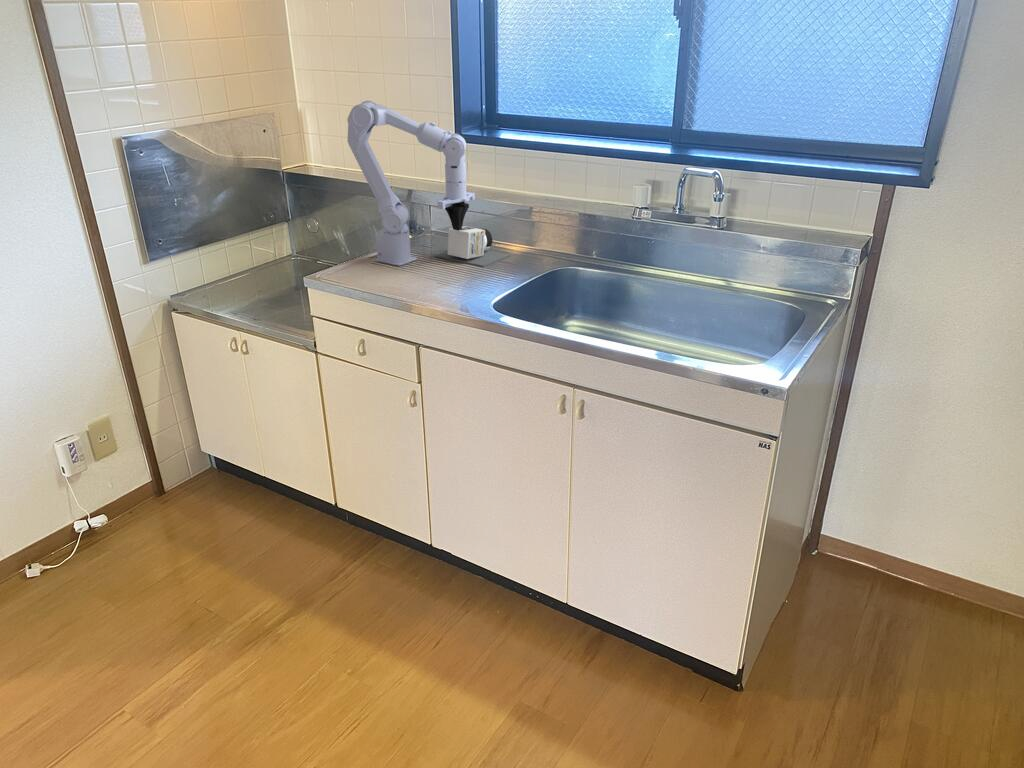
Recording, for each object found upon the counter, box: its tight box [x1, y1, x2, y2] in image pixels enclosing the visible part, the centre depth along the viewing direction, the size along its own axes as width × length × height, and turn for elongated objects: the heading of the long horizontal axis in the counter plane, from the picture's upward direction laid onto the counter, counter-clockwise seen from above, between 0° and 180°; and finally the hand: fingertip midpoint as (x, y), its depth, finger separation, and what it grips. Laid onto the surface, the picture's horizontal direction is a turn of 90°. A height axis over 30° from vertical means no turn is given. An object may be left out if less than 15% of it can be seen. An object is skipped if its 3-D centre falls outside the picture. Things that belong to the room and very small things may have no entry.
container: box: [447, 225, 493, 259], centre depth 227 cm, size 8×8×13 cm
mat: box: [434, 249, 511, 268], centre depth 229 cm, size 18×13×1 cm
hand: (457, 229), depth 220 cm, fingers closed
